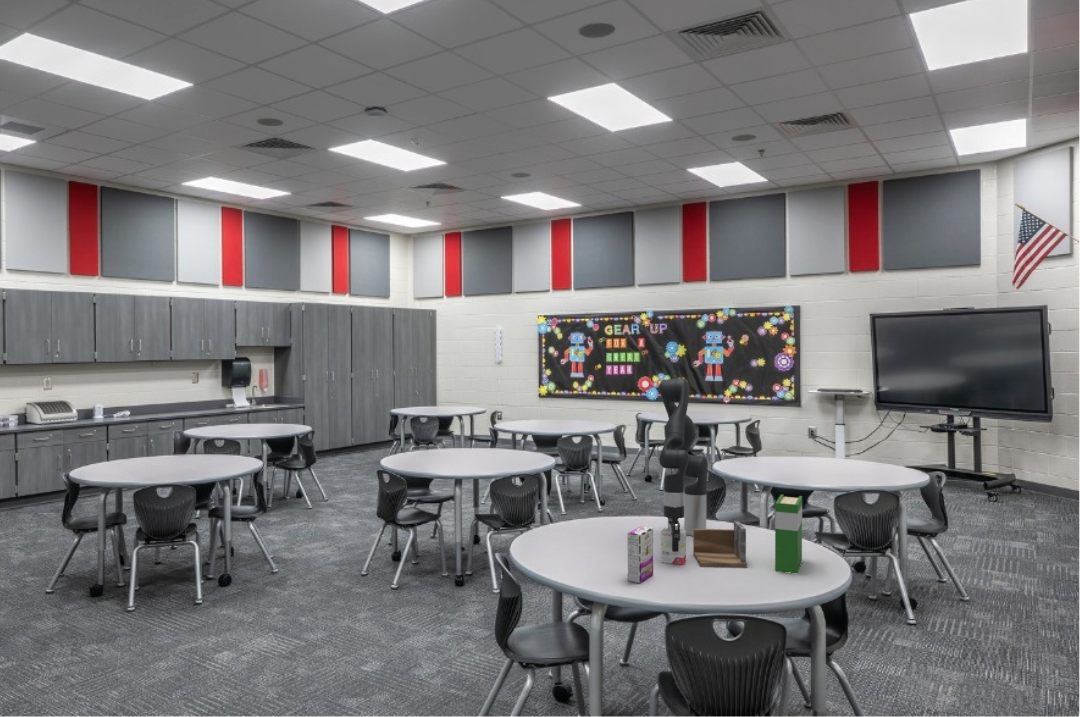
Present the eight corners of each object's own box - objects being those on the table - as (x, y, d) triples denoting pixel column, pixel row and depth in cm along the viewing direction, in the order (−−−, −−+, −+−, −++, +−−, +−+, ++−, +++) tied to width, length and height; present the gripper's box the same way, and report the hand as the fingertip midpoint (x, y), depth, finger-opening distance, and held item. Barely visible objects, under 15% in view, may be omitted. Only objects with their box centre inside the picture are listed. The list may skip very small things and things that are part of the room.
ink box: (686, 561, 253) (686, 529, 253) (683, 565, 249) (683, 532, 249) (663, 558, 257) (663, 527, 257) (660, 562, 252) (660, 530, 252)
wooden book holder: (693, 555, 262) (693, 519, 262) (737, 555, 261) (737, 520, 261) (700, 566, 247) (700, 529, 247) (747, 567, 246) (747, 530, 246)
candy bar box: (640, 572, 239) (640, 525, 240) (653, 575, 237) (653, 527, 237) (626, 581, 230) (626, 532, 230) (640, 584, 227) (640, 534, 227)
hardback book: (780, 558, 258) (781, 494, 258) (801, 560, 255) (802, 496, 255) (775, 571, 242) (775, 503, 242) (797, 574, 239) (797, 505, 239)
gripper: (661, 499, 260) (661, 543, 260) (666, 507, 246) (665, 553, 246) (681, 500, 260) (681, 543, 260) (687, 508, 245) (687, 554, 245)
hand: (673, 548), depth 253 cm, fingers open, 7 cm apart
